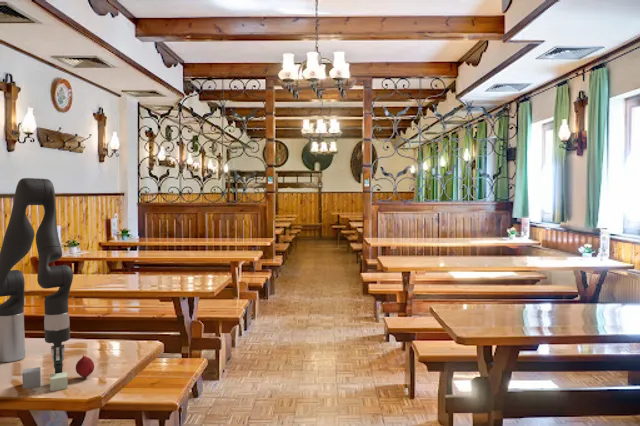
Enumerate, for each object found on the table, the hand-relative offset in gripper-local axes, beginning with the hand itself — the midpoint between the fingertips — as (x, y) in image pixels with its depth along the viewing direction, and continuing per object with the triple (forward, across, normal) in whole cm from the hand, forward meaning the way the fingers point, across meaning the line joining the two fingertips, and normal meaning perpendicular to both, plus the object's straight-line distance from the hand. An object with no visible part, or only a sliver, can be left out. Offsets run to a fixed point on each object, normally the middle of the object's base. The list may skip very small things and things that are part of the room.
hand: (58, 378), depth 185 cm
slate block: (+2, -2, -8) cm, 8 cm away
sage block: (+2, +4, 0) cm, 5 cm away
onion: (+2, -1, +8) cm, 8 cm away
